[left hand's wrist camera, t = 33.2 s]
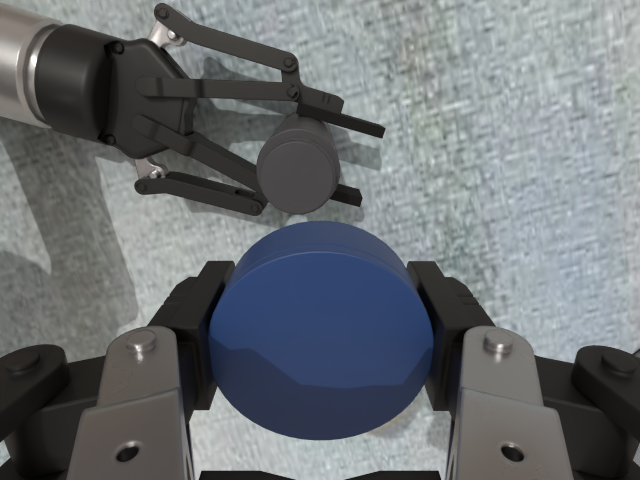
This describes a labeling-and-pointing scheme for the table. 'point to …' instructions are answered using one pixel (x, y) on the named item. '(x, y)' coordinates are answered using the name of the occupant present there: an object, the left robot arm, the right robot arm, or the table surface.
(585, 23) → the table surface
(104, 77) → the right robot arm
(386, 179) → the table surface
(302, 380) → the lid
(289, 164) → the dark grey bottle
